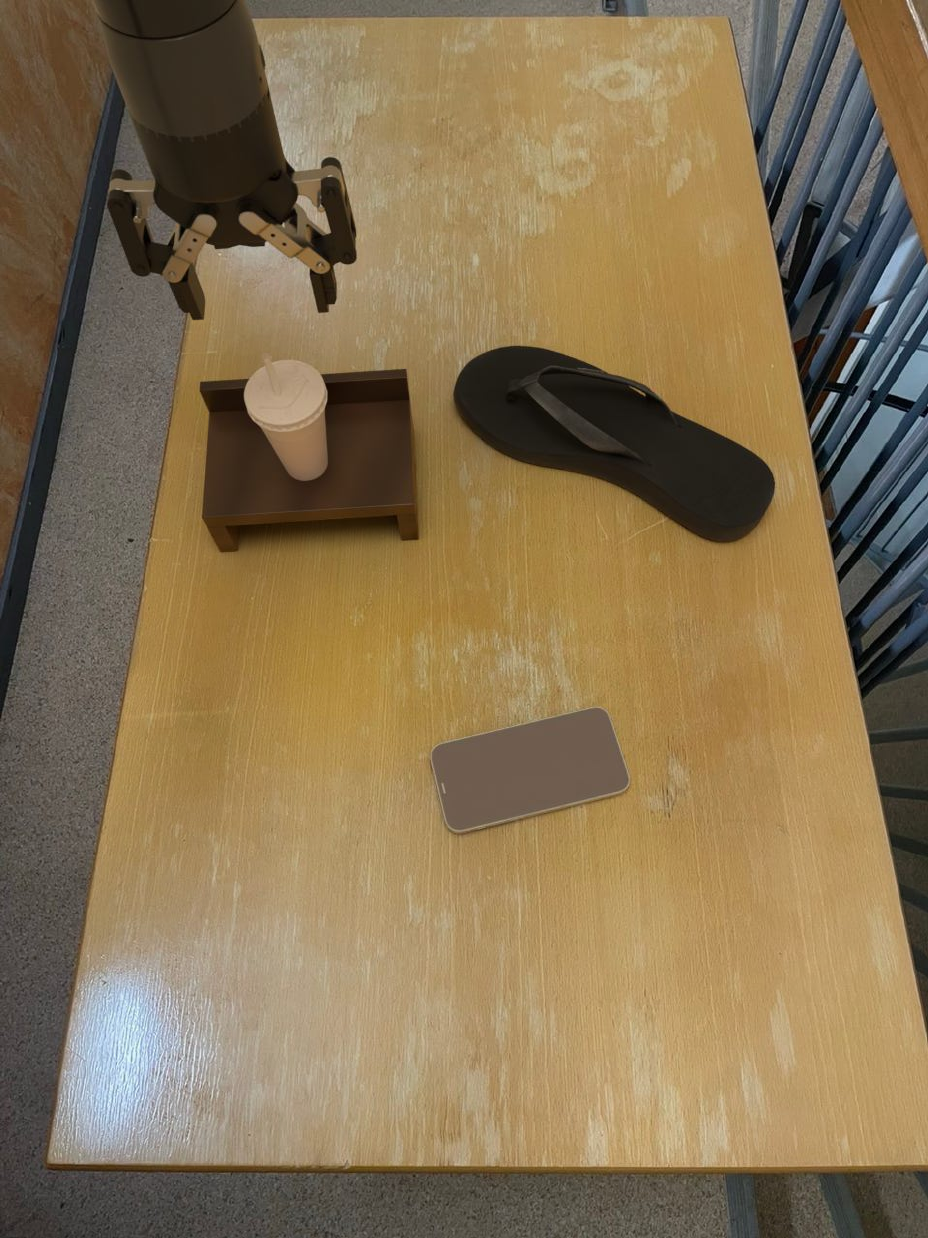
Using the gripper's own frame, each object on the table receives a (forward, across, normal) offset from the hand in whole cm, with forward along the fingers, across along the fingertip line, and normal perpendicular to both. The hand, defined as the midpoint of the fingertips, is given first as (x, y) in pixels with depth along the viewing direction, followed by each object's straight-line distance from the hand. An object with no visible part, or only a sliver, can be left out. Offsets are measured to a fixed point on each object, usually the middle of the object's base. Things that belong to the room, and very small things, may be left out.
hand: (262, 307), depth 63 cm
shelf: (+24, 0, +1) cm, 24 cm away
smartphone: (+24, +17, -27) cm, 40 cm away
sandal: (+24, +27, +3) cm, 37 cm away
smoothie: (+18, 0, 0) cm, 19 cm away
